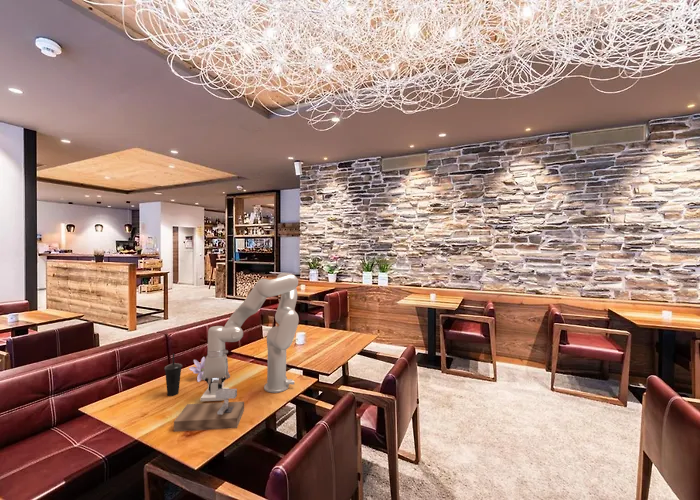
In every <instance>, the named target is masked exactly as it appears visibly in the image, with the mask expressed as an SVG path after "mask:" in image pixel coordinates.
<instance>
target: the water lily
mask: <svg viewBox="0 0 700 500" xmlns="http://www.w3.org/2000/svg"><path fill="white" fill-rule="evenodd" d="M205 360H206V356H203V357H202V358H201V359H200V362H199V361H198V360H197V359H193V363H194V365H195V366H190V367H188V370H189V371H192V372H193V374H197V376H196V377H197V378H196V379H197V380H196V381H197V382H198V383H200V382H201V381H202V379H201V376H202V375H203V373H204V365H205Z"/></svg>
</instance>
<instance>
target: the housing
mask: <svg viewBox="0 0 700 500" xmlns="http://www.w3.org/2000/svg"><path fill="white" fill-rule="evenodd" d="M223 404H224V401H223V402H205V403H203V402H202V403H187V404H186V406H185V407H184V408H182V409H183V410H182V411H181V412H180V413H179V414H178V416H177V417H176V418H175V419H174V421H173V432H175V433H176V432H187V431H188V432H190V431H193V432H194V431H208V430H225V429H226V430H227V429H238V426H239V424H240V423H241V422H240V421H241V420H242V417H243V414H244V412H245V401H229V408H228V409H227V410H225V412H224V413H223V414H217V412H218V411H219V409H220V408H221V407H222V405H223Z"/></svg>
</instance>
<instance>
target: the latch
mask: <svg viewBox="0 0 700 500" xmlns="http://www.w3.org/2000/svg"><path fill="white" fill-rule="evenodd" d="M237 397H238V388H229V389H217V390H216V398H224V400H223V402H224V404H223V405H222V407H221V408H220V409H219V411H218V412H217V414H223V413H224V412H225V410H227V409H228V408H229V402H230V401H229V400H230V399H236V398H237Z"/></svg>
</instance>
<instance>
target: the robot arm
mask: <svg viewBox="0 0 700 500" xmlns="http://www.w3.org/2000/svg"><path fill="white" fill-rule="evenodd" d="M298 286H299V278H298V277H297V275H294V274H293V273H288V272H287V273H286V272H282V273H278V275H277V277H276V278H273V279H268V278H261V279H259V280H258V281H257V282H256V283H255V284H254V285H253V287H252V289H251V290H250V292H249V293H248V295H246V297H245V299H244V301H243V302H242V303H241V304H240V305H239V306H238V307H237V309H235V311H233V313H232V314H231V315H230V317H229V318H228V320H227V322H226V323H225V325H224V326H223V325H216V326H214V325H213V326H211V327H209V328H208V330H207V355H206V356H205V359H206V360H205V365H204V373H203V375H202V376H201V380H203V381H204V382H206V383H207V385H208V388H209V391H211V383H212V382H213V380H214V379H218V380H219V384H218V389H222V388H223V383H224V382H225V381H226V380H228V379H230V378H231V373H230V372H229V364H228V362H229V359H228V356H227V354H228V353H229V350H228V349H226V343H236V342H238V341H241V340H242V339H243V337H244V331H243V329H242V328H241V327H242V326H243V324H244V323H245V321H246V320H247V319H248V318H249V317H251V316H253V315H255V314H256V313H258V312H259V311H260V309H261V308H262V306H263V304H264V303H265V301H266V300H267V299H268V298H272V297H276V296H280V300H279V303H278V306H277V309H276V312H275V316H274V319H275V322H276V323H277V324H278V326H273V327H271V328H269V330H268V332H267V334H266V346H267V347H266V348H267V368H266V369H267V371H266V375H267V377H266V378H267V379H266V382H267V383H265V384H264V385H263V390H264V391H265V392H266V393H271V394H274V393H275V394H276V393H283V392H285V391H287V390H288V389H289V388H290V385H293V386H294V385H295V380H293V378H292V379H291V378H290V379H288V377H287V350H288V349H289V348H290V347H291V346H292V344H293V342H294V338H295V335H296V332H297V328H298V326H299V322H300V320H299V314H298V313H297V312H296V310H295V308H296V306H297V305H296V304H297V301H298V289H297V287H298Z"/></svg>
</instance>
